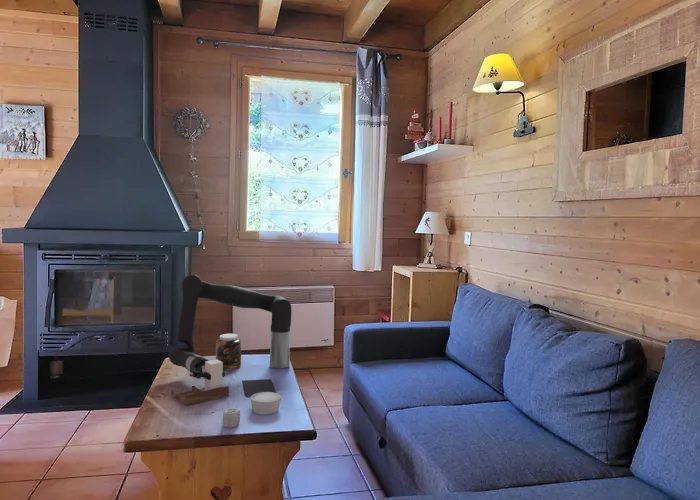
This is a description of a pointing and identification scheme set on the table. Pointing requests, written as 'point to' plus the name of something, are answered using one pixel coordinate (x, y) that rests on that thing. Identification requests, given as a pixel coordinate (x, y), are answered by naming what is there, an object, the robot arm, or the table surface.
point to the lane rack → (200, 395)
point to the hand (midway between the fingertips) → (216, 376)
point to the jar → (229, 351)
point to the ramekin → (265, 403)
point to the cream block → (214, 374)
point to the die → (231, 417)
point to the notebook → (257, 387)
